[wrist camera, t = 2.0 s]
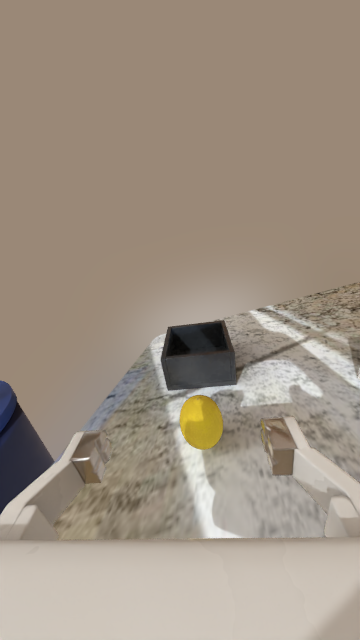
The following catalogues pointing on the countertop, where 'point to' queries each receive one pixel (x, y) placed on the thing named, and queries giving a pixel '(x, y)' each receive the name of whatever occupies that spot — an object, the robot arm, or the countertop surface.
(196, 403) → the lemon
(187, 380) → the dark gray open box
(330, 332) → the countertop surface
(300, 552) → the robot arm
